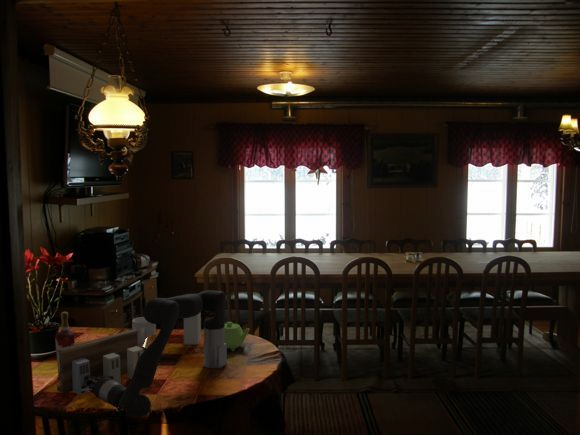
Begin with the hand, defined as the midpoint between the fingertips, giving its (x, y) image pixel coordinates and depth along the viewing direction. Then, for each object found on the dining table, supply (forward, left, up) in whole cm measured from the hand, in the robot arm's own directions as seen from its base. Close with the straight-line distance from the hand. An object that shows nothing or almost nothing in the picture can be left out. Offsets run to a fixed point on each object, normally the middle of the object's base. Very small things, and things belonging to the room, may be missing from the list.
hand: (86, 378), depth 181 cm
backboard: (+7, -13, -7) cm, 16 cm away
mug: (+19, -51, -7) cm, 55 cm away
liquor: (+19, -6, -7) cm, 21 cm away
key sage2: (-2, -10, -7) cm, 12 cm away
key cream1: (-5, -20, -7) cm, 22 cm away
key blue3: (+4, -1, -7) cm, 8 cm away
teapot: (-20, -68, -7) cm, 72 cm away
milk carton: (+1, -66, -7) cm, 67 cm away
